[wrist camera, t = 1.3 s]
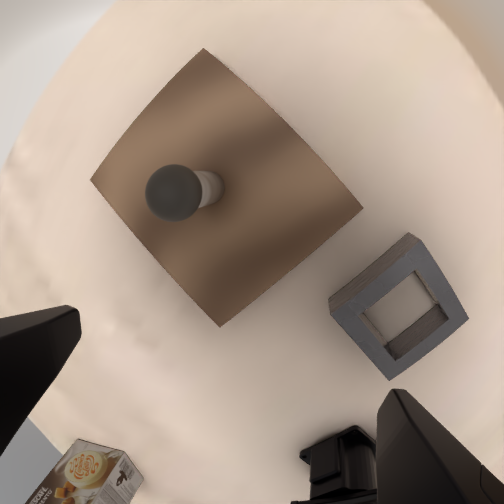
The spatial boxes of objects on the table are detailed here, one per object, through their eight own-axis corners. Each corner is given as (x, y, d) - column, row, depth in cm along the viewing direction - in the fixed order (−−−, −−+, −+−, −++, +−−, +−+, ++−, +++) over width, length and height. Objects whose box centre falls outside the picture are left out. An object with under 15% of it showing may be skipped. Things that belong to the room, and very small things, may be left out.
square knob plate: (359, 205, 18) (393, 226, 11) (225, 317, 22) (186, 384, 14) (210, 55, 17) (160, 3, 10) (101, 178, 21) (24, 187, 13)
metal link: (455, 304, 18) (469, 318, 16) (382, 362, 21) (389, 381, 18) (408, 232, 18) (421, 239, 16) (328, 299, 20) (330, 314, 18)
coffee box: (97, 465, 33) (47, 535, 17) (76, 437, 31) (16, 509, 16) (145, 479, 31) (97, 563, 15) (125, 450, 29) (64, 540, 14)
